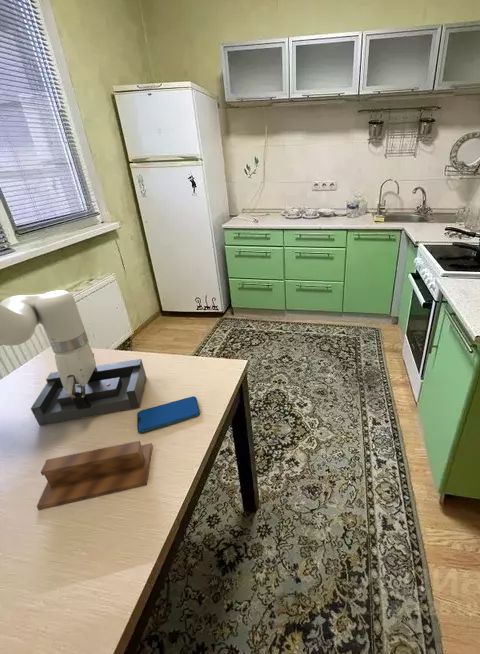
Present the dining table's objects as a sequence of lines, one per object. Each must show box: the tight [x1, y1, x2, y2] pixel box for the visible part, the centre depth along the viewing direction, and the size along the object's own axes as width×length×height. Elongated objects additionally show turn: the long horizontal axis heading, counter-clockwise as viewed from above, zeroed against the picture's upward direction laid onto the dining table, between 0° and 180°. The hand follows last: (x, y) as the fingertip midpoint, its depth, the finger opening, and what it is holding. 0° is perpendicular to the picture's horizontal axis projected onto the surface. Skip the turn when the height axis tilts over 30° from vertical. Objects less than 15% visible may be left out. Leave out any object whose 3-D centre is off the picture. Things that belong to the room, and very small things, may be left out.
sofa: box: [30, 358, 147, 427], centre depth 89 cm, size 24×13×7 cm, turn 104°
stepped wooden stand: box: [36, 440, 153, 511], centre depth 68 cm, size 20×10×6 cm, turn 104°
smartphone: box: [136, 395, 201, 434], centre depth 84 cm, size 7×1×15 cm
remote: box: [57, 377, 122, 406], centre depth 86 cm, size 14×5×3 cm, turn 104°
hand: (90, 396), depth 86 cm, fingers open, 8 cm apart
